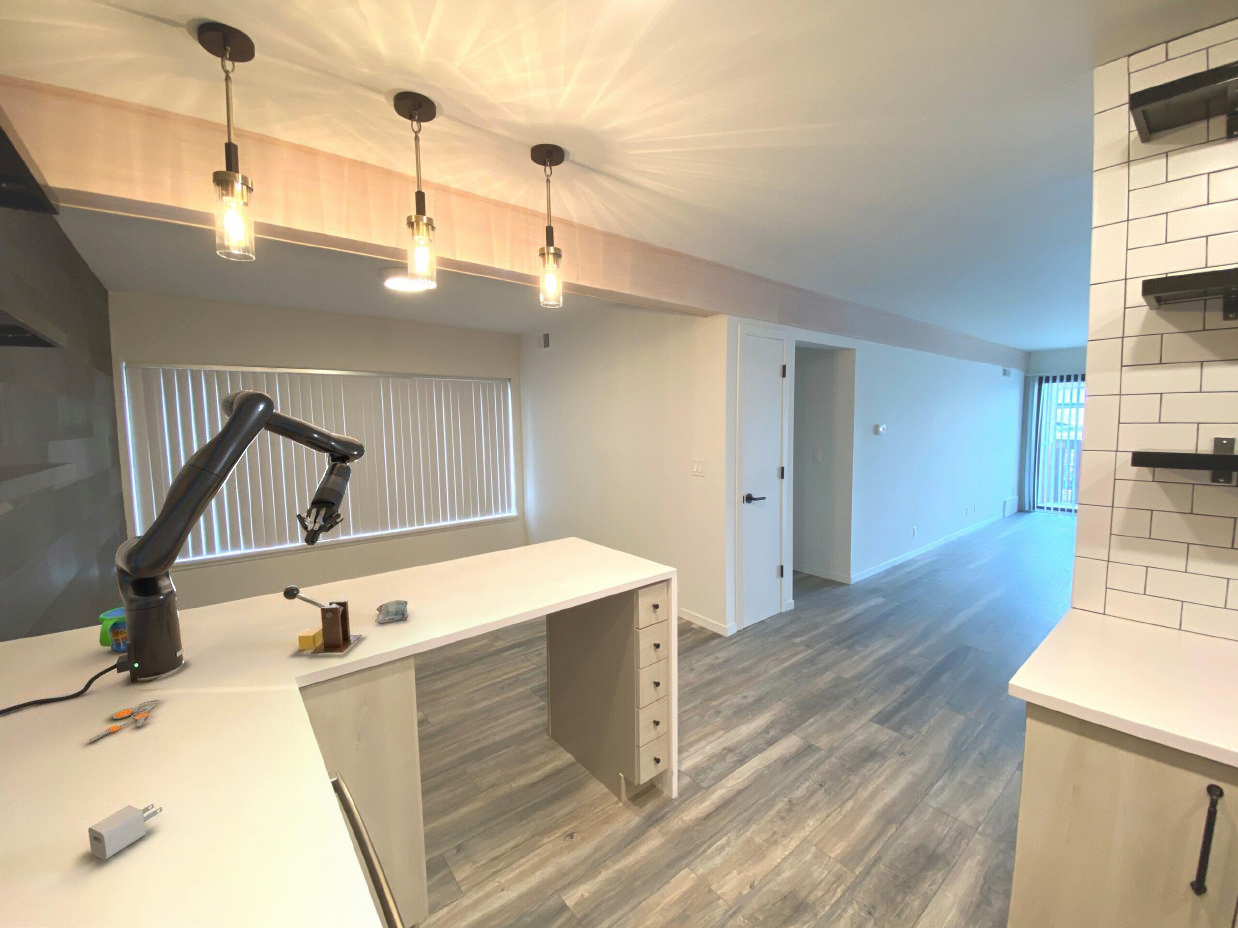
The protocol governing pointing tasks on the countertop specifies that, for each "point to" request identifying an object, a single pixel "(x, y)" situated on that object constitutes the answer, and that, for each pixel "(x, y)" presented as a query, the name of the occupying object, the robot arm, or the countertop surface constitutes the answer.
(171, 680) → the countertop surface
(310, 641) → the butter
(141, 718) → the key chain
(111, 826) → the usb wall charger
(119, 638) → the snack cup
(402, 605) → the packaged food
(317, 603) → the ball-knob lever
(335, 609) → the brown lever base bracket
